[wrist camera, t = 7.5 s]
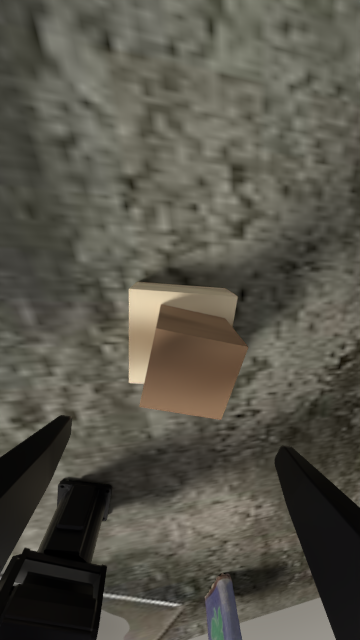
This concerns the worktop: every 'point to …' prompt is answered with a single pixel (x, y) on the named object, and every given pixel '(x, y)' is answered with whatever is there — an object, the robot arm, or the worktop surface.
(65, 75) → the worktop surface
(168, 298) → the beech block
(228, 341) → the walnut cube
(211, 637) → the flask
